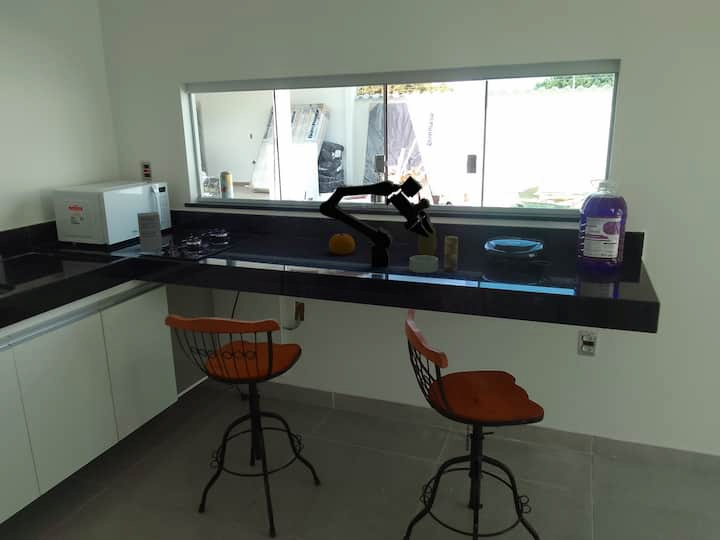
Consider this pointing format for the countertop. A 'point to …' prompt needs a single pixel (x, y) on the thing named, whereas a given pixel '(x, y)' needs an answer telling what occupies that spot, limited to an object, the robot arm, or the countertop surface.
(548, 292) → the countertop surface
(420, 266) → the celadon cup
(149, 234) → the supplement box
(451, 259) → the birch post
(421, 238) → the squeeze bottle
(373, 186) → the robot arm
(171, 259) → the countertop surface
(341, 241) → the fruit
